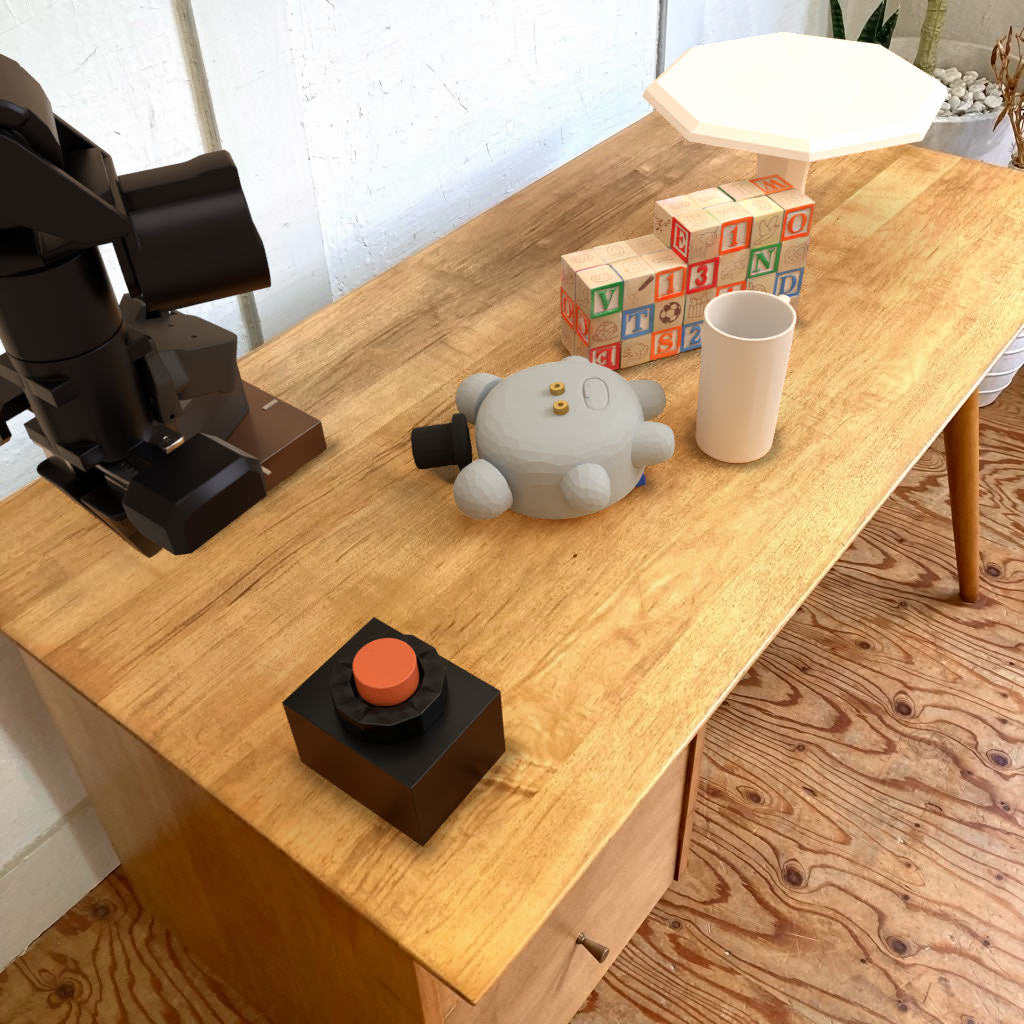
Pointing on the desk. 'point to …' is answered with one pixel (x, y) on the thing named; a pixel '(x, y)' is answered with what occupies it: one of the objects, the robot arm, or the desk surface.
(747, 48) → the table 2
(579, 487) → the figurine
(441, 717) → the button box
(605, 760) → the desk surface
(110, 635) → the desk surface
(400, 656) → the button
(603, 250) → the stack of blocks
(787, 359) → the mug
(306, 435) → the dial panel
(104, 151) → the robot arm
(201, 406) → the dial pointer
